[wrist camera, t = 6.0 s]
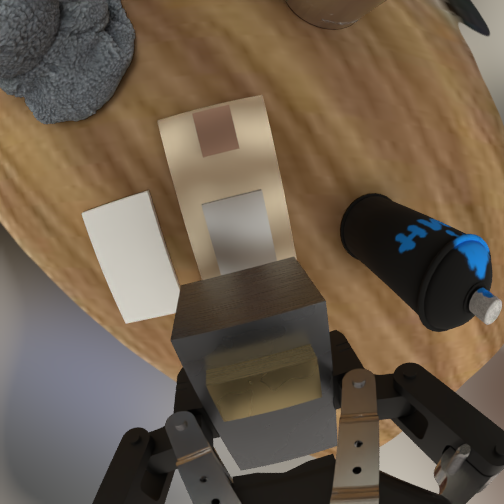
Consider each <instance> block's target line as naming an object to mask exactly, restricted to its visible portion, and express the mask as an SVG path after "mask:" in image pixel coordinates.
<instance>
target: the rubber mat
mask: <svg viewBox="0 0 504 504" xmlns="http://www.w3.org/2000/svg"><path fill="white" fill-rule="evenodd" d="M81 214H82V217H83V220H84V223H85V226H86V228H87V231H88V234H89V237H90V240H91V242H92V245H93V248H94V251H95V253H96V256H97V258H98V261H99V263H100V266H101V268H102V271H103V273H104V276H105V278H106V281H107V283H108V285H109V288H110V290H111V292H112V295H113V297H114V299H115V301H116V303H117V306H118V308H119V310H120V312H121V314H122V316H123V319H124V321H125V323H131V322H136V321H140V320H145V319H150V318H155V317H159V316H164V315H168V314H173V313H176V308H177V303H178V298H179V293H180V288H181V287H180V284H179V282H178V279H177V276H176V273H175V270H174V267H173V264H172V261H171V259H170V256H169V253H168V250H167V247H166V243H165V240H164V237H163V234H162V231H161V228H160V225H159V221H158V218H157V215H156V212H155V208H154V205H153V202H152V198H151V195H150V191H149V190H147V191H144V192H141V193H138V194H135V195H131V196H128V197H125V198H122V199H119V200H116V201H113V202H110V203H107V204H105V205H102V206H99V207H96V208H93V209H90V210H88V211H85V212H83V213H81Z"/></svg>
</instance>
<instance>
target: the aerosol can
mask: <svg viewBox="0 0 504 504" xmlns="http://www.w3.org/2000/svg"><path fill="white" fill-rule="evenodd" d="M341 239H342V243H343V245H344V248H345V249H346V251H347V252H348V253H349V254H350V255H351V256H352V257H354V258H356V259H358V260H360V261H361V262H362V263H363V264H365V265H366V266H367V267H368V268H369V269H370V270H371V271H372V272H373V273H374V274H376V275H377V276H378V277H379V278H380V279H381V280H382V281H383V282H384V283H385V284H386V285H388V286H389V287H390V288H391V289H392V290H393V291H394V292H395V293H396V294H397V295H398V296H399V297H400V298H401V299H402V300H403V301H404V302H406V303H407V304H408V305H409V306H410V307H411V308H412V309H413V310H414V311H415V312H416V313H417V314H418V315H419V318H420V320H421V322H422V324H423V325H424V326H425V327H426V328H428V329H430V330H432V331H436V332H442V331H447V330H449V329H452V328H455V327H458V326H461V325H463V324H465V323H466V322H468V321H469V320H470V319H472V318H473V317H474V316H477V317H478V318H479V319H480V320H481V321H483V322H484V323H485V324H487V325H488V324H491V323H492V322H494V321H495V320H496V318H497V317H498V315H499V313H500V311H501V308H502V301H501V300H500V299H499V298H497V297H496V296H494V295H493V294H492V293H490V292H489V291H490V288H491V283H492V263H491V255H490V251H489V248H488V246H487V244H486V242H485V241H484V240H483V239H482V238H481V237H479V236H477V235H473V234H465V233H463V232H461V231H459V230H457V229H455V228H453V227H451V226H448V225H446V224H444V223H442V222H440V221H437V220H435V219H433V218H431V217H429V216H426V215H424V214H422V213H419V212H417V211H415V210H412V209H410V208H408V207H405V206H403V205H400V204H398V203H396V202H393V201H392V200H391V199H389V198H388V197H387V196H384V195H382V194H376V193H375V194H367V195H364V196H362V197H360V198H358V199H357V200H356V201H354V202H353V203H352V204H351V205H350V207H349V208H348V209H347V211H346V213H345V214H344V217H343V220H342V224H341Z"/></svg>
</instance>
